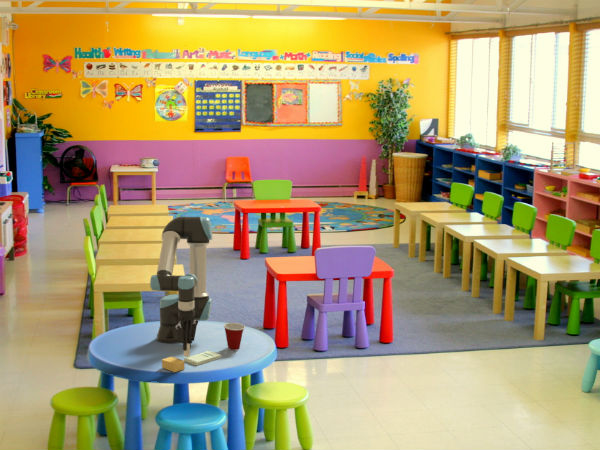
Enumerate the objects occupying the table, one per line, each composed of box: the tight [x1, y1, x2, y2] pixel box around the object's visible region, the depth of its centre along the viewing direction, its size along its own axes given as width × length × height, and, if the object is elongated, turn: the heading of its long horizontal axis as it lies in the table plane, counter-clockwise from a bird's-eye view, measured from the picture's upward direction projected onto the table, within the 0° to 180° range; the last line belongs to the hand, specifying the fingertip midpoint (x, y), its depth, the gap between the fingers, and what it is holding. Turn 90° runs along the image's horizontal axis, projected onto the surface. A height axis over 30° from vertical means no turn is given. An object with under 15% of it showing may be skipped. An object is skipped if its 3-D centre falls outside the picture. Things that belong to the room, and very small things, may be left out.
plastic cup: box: [223, 322, 246, 351], centre depth 412 cm, size 11×11×12 cm
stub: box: [161, 356, 185, 373], centre depth 381 cm, size 9×6×4 cm, turn 48°
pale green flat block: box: [183, 350, 222, 366], centre depth 395 cm, size 9×16×2 cm, turn 138°
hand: (186, 356), depth 388 cm, fingers closed
